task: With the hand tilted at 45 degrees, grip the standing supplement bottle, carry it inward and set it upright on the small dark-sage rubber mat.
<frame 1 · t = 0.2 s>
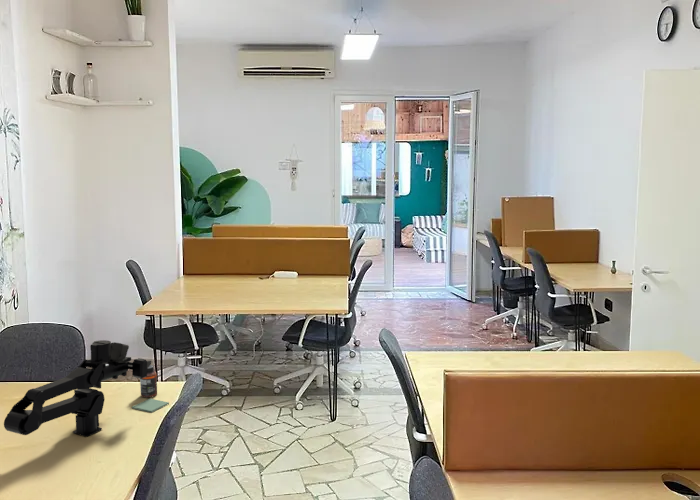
hand: (140, 360, 228), 17 cm above the table, tool horizontal, fingers open, 9 cm apart
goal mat: (150, 406, 230), on the table
supplement bottle: (149, 395, 240), on the table
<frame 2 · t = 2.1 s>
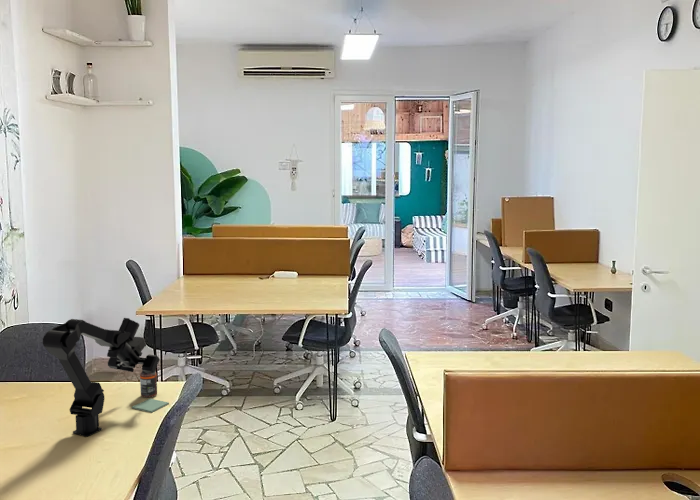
hand: (143, 372, 236), 10 cm above the table, tool tilted 45°, fingers open, 9 cm apart
nothing on the table moved.
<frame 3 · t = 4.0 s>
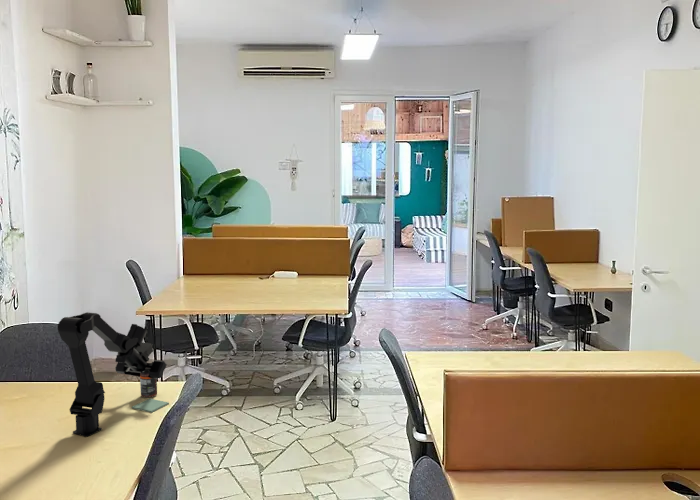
hand: (150, 377, 241), 7 cm above the table, tool tilted 45°, fingers closed on supplement bottle, 6 cm apart
supplement bottle: (149, 395, 240), on the table, touching gripper
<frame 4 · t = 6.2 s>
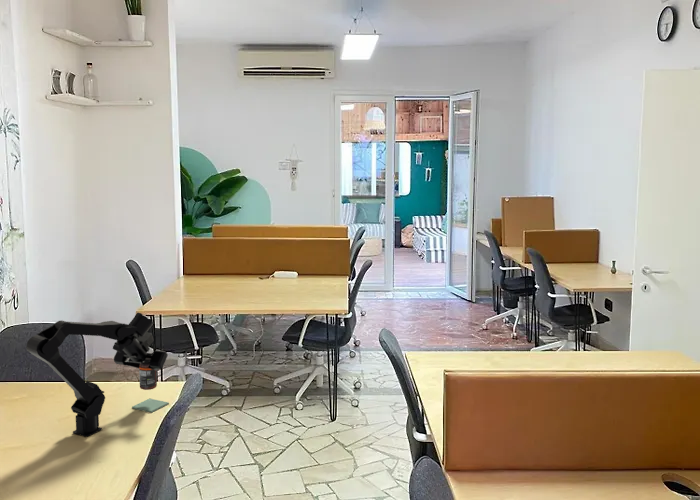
hand: (150, 368, 231), 13 cm above the table, tool tilted 45°, fingers closed on supplement bottle, 6 cm apart
supplement bottle: (148, 388, 230), point 6 cm above the table, touching gripper
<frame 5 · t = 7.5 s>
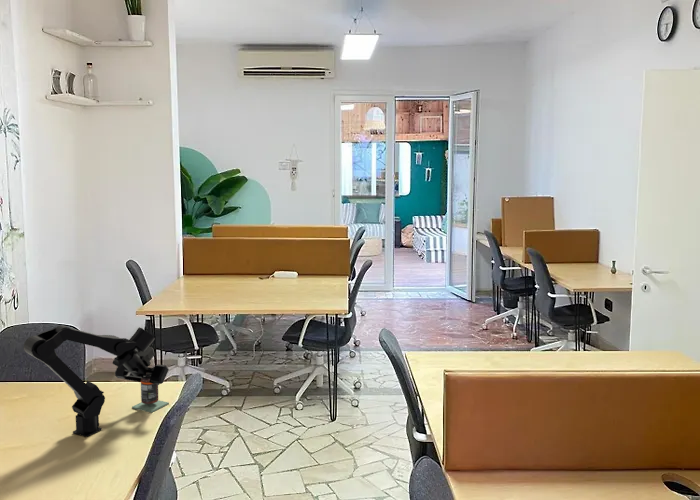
hand: (151, 382, 230), 8 cm above the table, tool tilted 45°, fingers closed on supplement bottle, 6 cm apart
supplement bottle: (149, 402, 229), point 2 cm above the table, touching gripper
when the fingers open (8 cm above the table, at t = 8.5 s): supplement bottle stays where it is, resting on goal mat.
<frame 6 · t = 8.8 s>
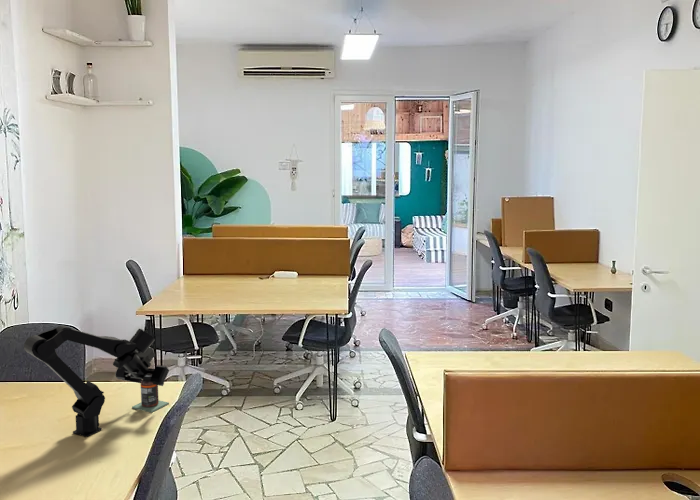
hand: (152, 383, 230), 8 cm above the table, tool tilted 45°, fingers open, 9 cm apart
supplement bottle: (150, 405, 229), resting on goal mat
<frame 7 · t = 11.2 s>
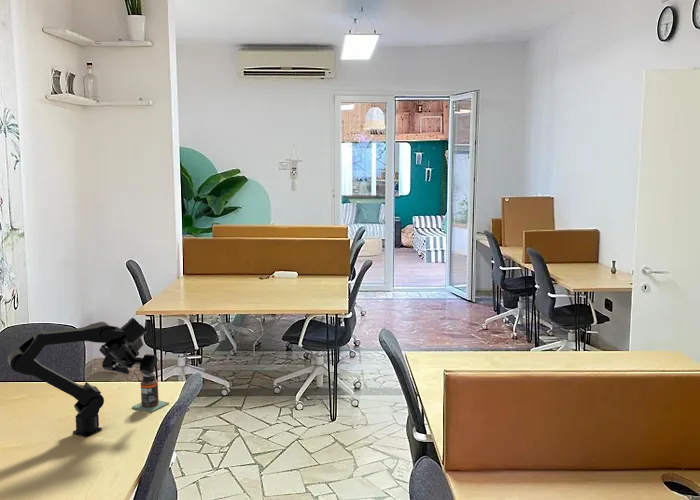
hand: (140, 374, 224), 13 cm above the table, tool tilted 45°, fingers open, 9 cm apart
nothing on the table moved.
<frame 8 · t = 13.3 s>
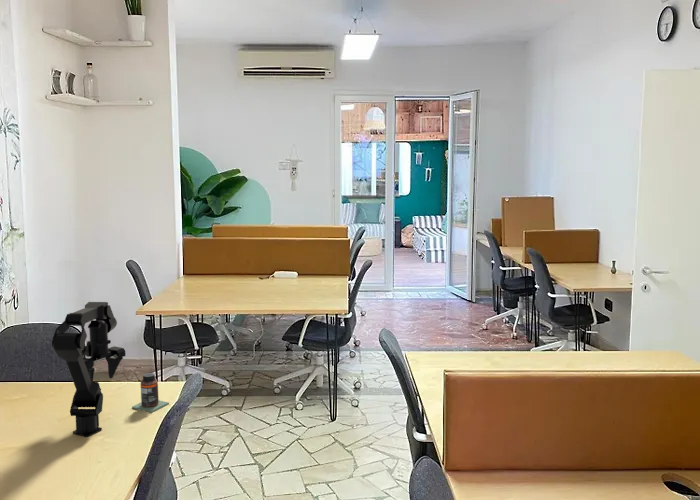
hand: (100, 382, 219), 12 cm above the table, tool pointing down, fingers open, 9 cm apart
nothing on the table moved.
at the end: supplement bottle inside the target area on the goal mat (0.2 cm from its centre), point 0.4 cm above the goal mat's base; supplement bottle tilted 0°; the gripper is holding nothing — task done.
